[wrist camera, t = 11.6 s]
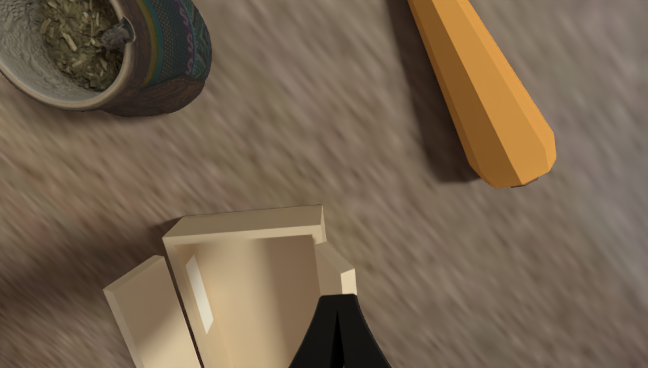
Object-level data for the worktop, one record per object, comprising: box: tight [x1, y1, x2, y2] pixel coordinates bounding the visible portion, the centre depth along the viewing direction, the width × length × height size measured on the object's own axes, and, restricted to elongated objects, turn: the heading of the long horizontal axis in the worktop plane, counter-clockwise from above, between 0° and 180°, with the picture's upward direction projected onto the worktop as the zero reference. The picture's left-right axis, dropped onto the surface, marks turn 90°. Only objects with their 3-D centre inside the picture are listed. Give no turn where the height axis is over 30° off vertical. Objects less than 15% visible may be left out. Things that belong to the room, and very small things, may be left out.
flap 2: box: [314, 241, 357, 368], centre depth 19 cm, size 3×15×1 cm
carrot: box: [407, 0, 556, 189], centre depth 17 cm, size 20×4×4 cm, turn 32°
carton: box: [162, 205, 326, 368], centre depth 23 cm, size 10×16×3 cm, turn 6°
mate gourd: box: [0, 0, 212, 117], centre depth 13 cm, size 7×8×10 cm
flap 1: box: [103, 255, 201, 368], centre depth 20 cm, size 3×15×1 cm
